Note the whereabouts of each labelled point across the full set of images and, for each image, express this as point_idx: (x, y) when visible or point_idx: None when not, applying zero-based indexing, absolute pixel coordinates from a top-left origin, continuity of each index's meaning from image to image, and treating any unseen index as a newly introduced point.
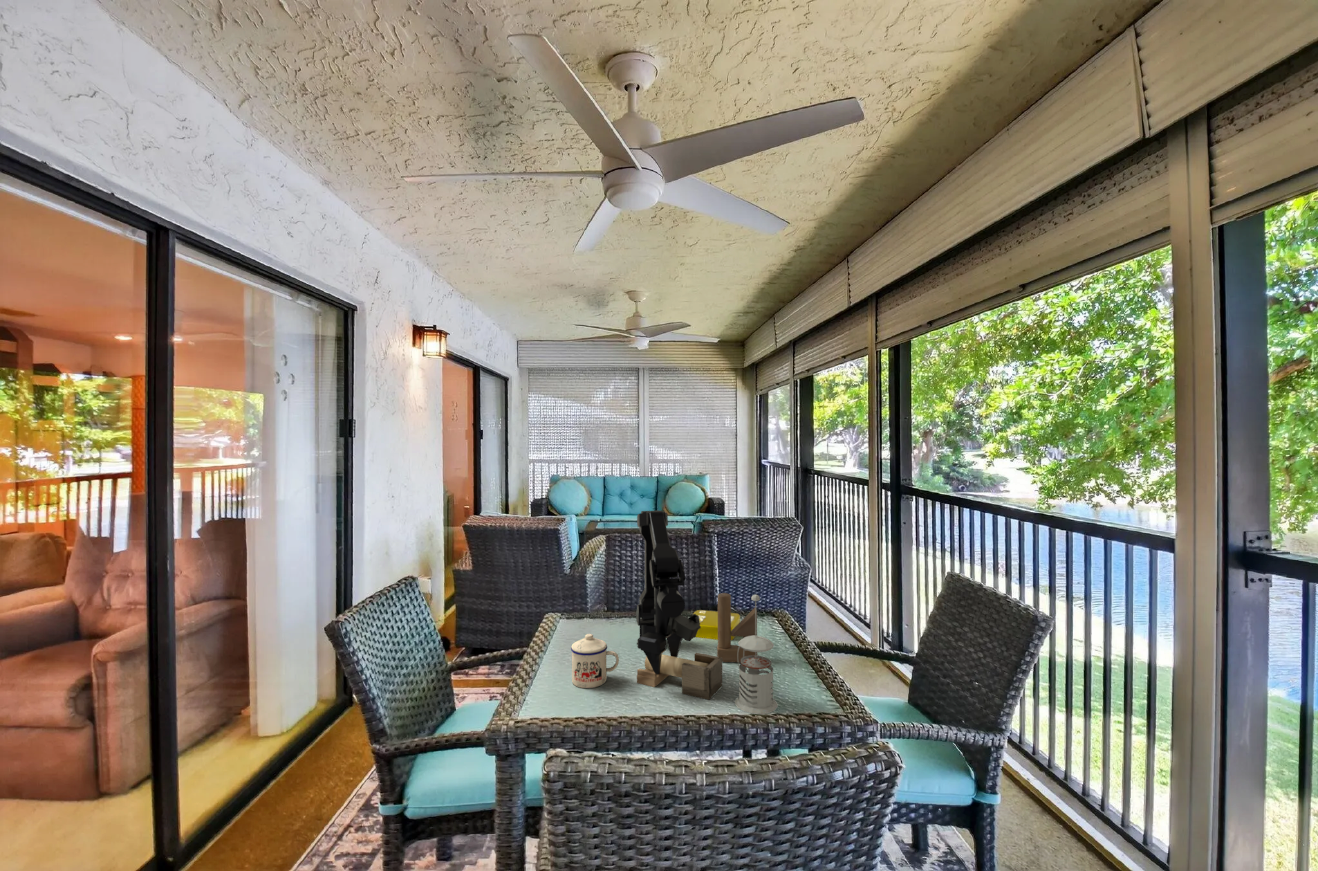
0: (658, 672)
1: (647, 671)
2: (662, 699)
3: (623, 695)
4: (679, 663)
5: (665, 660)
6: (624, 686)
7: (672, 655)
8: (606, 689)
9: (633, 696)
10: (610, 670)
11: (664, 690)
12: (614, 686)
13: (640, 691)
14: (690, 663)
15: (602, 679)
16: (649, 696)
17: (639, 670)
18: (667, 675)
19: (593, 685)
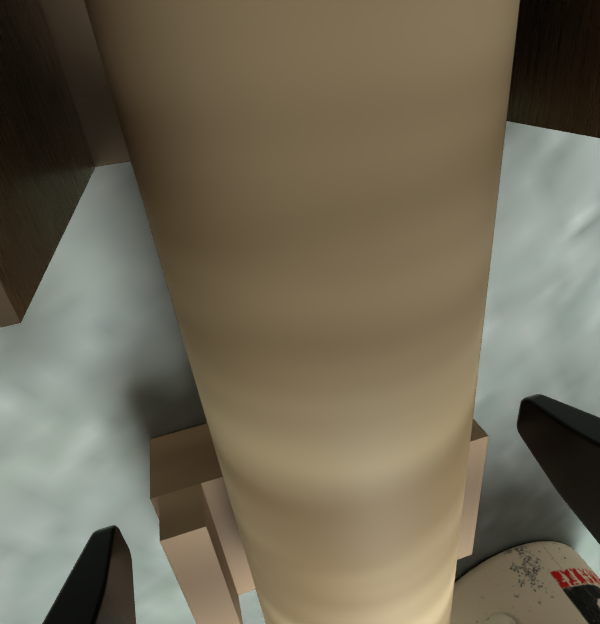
0: (559, 404)
1: (464, 500)
2: (591, 177)
3: (595, 404)
4: (479, 328)
5: (456, 520)
6: (492, 478)
7: (126, 615)
8: (554, 500)
9: (594, 359)
10: (508, 617)
11: None
12: (511, 504)
13: (520, 378)
14: (472, 105)
15: (541, 569)
16: (570, 287)
17: (472, 540)
18: (205, 430)
19: (569, 549)
